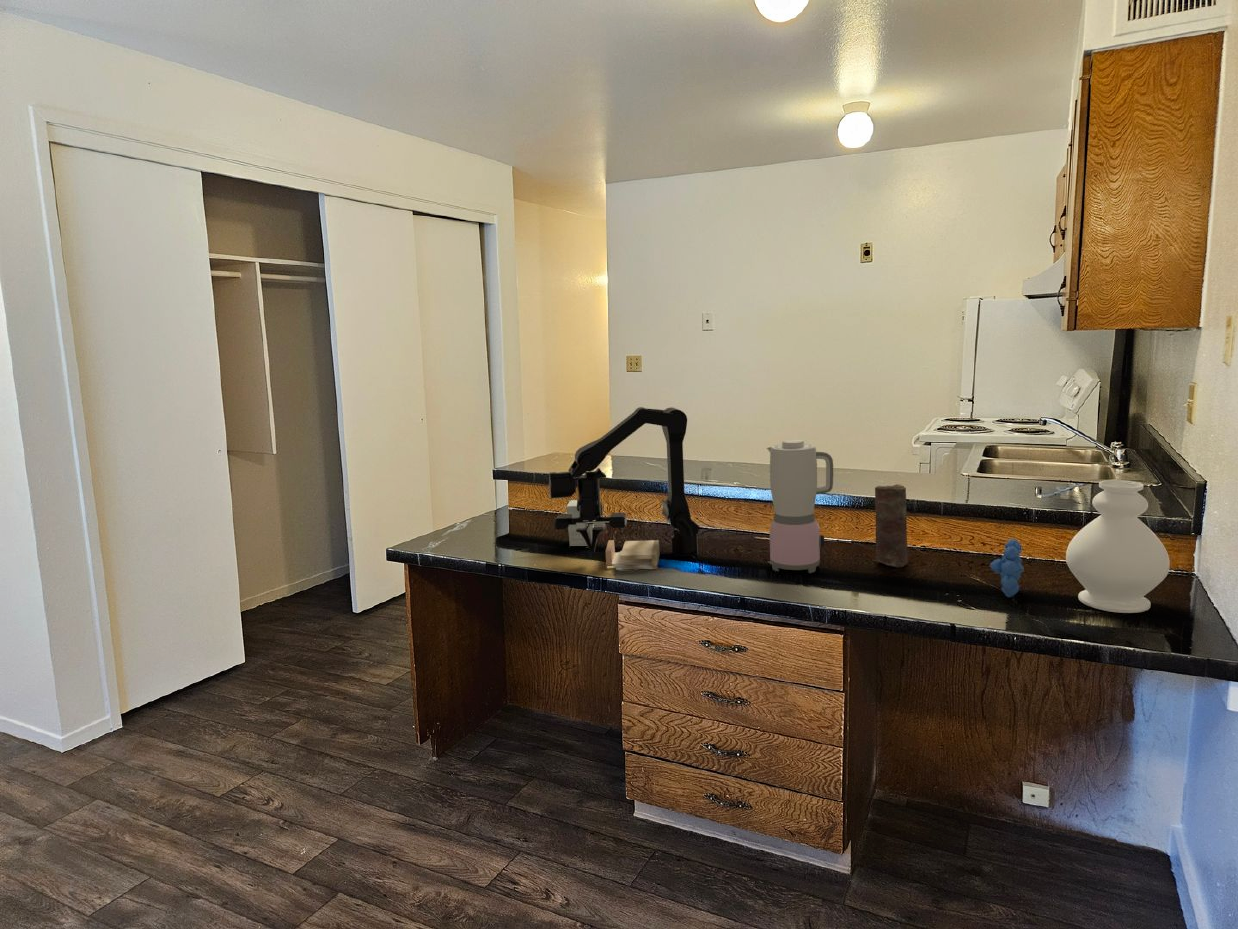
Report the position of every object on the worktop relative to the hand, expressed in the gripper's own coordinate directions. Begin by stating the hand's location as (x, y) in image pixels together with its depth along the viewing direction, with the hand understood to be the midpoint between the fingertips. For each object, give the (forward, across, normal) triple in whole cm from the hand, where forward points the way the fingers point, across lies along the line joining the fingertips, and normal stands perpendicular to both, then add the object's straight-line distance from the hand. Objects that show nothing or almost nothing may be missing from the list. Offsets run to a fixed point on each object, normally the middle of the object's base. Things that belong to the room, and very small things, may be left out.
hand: (592, 552), depth 203 cm
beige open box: (+3, -11, 0) cm, 12 cm away
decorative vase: (+3, -114, +34) cm, 119 cm away
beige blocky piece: (+3, -10, 0) cm, 11 cm away
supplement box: (+3, +5, -18) cm, 19 cm away
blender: (+3, -54, +7) cm, 54 cm away
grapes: (+3, -95, +28) cm, 99 cm away
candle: (+3, -76, +6) cm, 76 cm away
